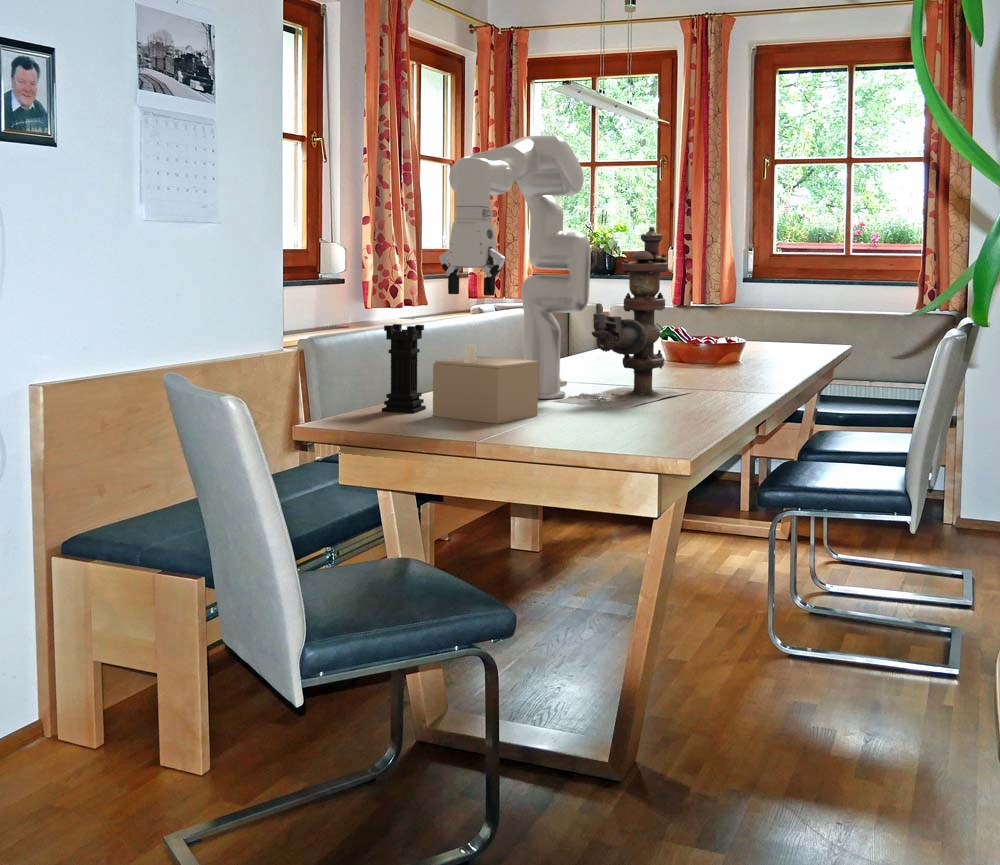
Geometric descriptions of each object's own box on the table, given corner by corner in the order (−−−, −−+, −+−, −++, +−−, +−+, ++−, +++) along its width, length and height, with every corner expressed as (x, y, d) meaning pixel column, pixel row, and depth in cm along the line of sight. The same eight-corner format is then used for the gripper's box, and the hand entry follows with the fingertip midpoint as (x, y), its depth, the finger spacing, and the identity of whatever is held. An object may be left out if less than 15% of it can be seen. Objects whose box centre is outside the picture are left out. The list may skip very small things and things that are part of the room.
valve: (625, 410, 272) (635, 222, 265) (552, 401, 283) (561, 221, 275) (692, 394, 307) (704, 228, 300) (626, 387, 318) (635, 227, 310)
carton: (474, 408, 267) (474, 358, 265) (537, 415, 257) (538, 363, 255) (432, 416, 254) (433, 363, 252) (497, 423, 244) (498, 369, 242)
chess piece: (425, 409, 265) (426, 324, 262) (414, 413, 258) (414, 326, 255) (394, 407, 268) (394, 323, 264) (381, 411, 260) (381, 325, 257)
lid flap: (476, 358, 265) (476, 339, 264) (538, 363, 255) (538, 343, 254) (435, 363, 252) (435, 342, 252) (498, 368, 242) (498, 347, 242)
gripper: (514, 216, 242) (513, 295, 244) (451, 217, 252) (450, 293, 254) (494, 214, 236) (493, 296, 238) (430, 215, 246) (429, 293, 248)
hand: (471, 294), depth 246 cm, fingers open, 9 cm apart
